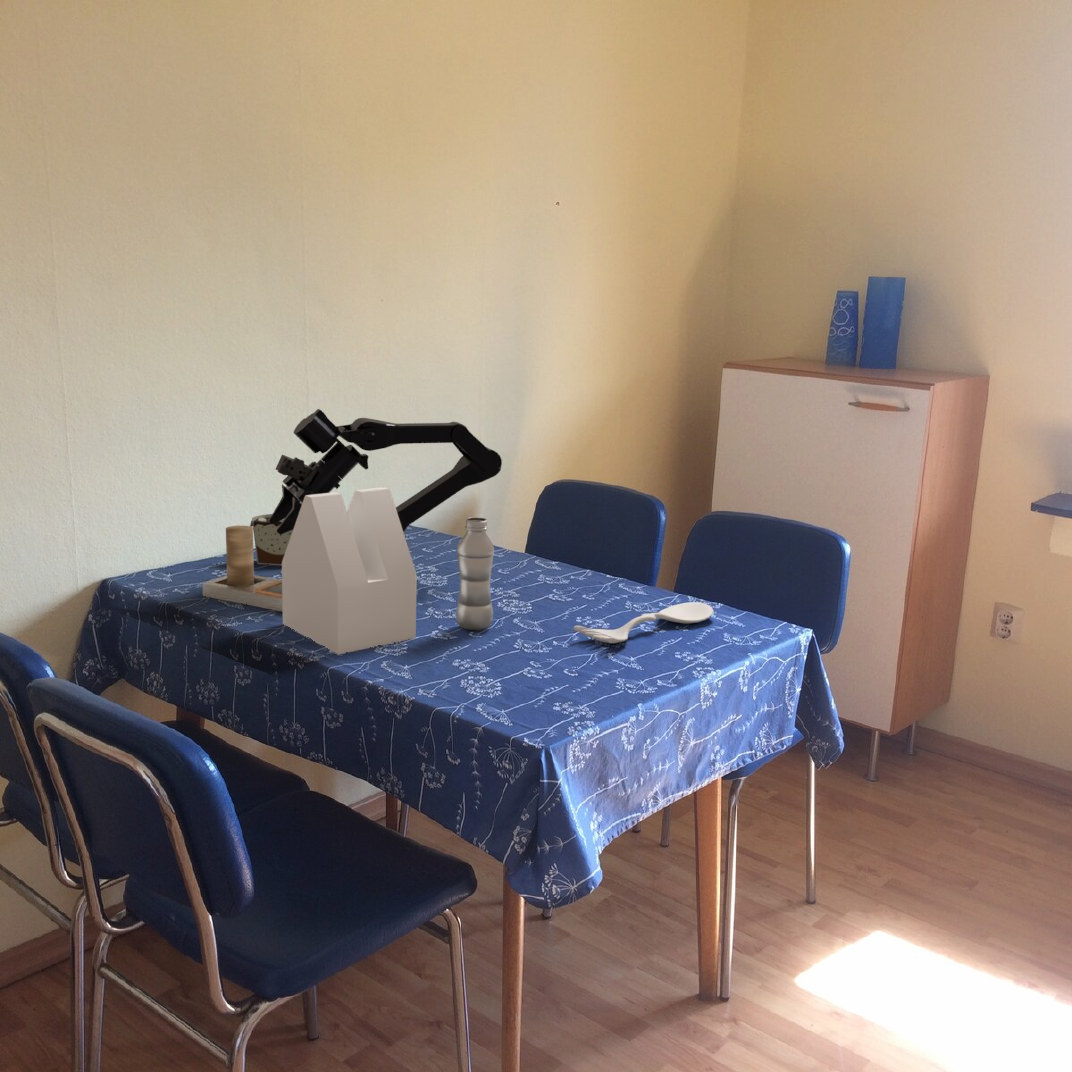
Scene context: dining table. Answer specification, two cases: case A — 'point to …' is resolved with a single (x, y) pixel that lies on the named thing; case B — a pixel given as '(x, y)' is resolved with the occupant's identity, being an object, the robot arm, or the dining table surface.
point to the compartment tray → (248, 592)
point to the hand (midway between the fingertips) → (274, 527)
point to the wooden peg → (240, 556)
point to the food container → (269, 540)
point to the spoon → (675, 613)
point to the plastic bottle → (475, 576)
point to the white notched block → (349, 573)
